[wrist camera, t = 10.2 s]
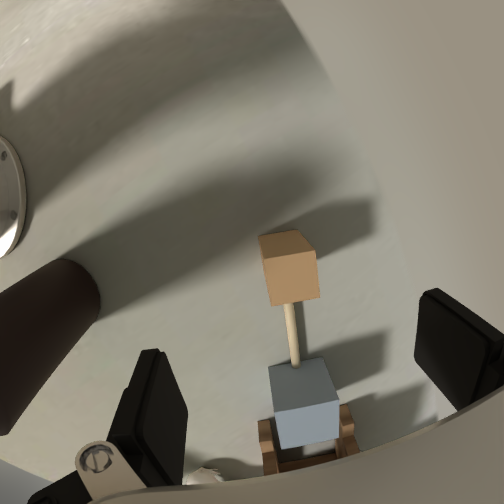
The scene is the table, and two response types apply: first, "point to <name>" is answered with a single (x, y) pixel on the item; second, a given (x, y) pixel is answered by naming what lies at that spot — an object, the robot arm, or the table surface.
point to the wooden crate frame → (342, 449)
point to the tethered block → (297, 346)
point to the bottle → (41, 330)
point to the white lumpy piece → (202, 476)
